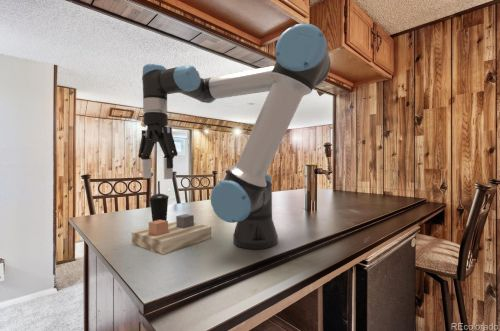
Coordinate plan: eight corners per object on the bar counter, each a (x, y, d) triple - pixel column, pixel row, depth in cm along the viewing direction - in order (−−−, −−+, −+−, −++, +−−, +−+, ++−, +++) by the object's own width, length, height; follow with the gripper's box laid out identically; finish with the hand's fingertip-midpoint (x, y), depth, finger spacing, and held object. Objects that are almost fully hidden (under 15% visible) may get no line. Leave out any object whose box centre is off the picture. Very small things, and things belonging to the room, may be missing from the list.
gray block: (193, 228, 92) (193, 215, 92) (184, 231, 89) (183, 217, 89) (186, 227, 95) (185, 214, 95) (176, 229, 91) (176, 216, 91)
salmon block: (168, 236, 83) (167, 221, 83) (156, 239, 80) (156, 223, 80) (160, 234, 86) (160, 219, 86) (148, 237, 82) (148, 222, 82)
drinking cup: (163, 232, 98) (162, 181, 98) (145, 231, 99) (144, 182, 99) (173, 227, 105) (171, 180, 105) (156, 227, 107) (155, 180, 107)
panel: (211, 237, 90) (211, 226, 90) (162, 254, 74) (162, 241, 74) (180, 230, 101) (179, 220, 101) (131, 243, 85) (131, 232, 85)
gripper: (188, 109, 78) (189, 178, 79) (146, 119, 93) (148, 177, 93) (167, 105, 72) (169, 180, 73) (126, 116, 87) (128, 178, 87)
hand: (157, 178), depth 83 cm, fingers open, 12 cm apart
